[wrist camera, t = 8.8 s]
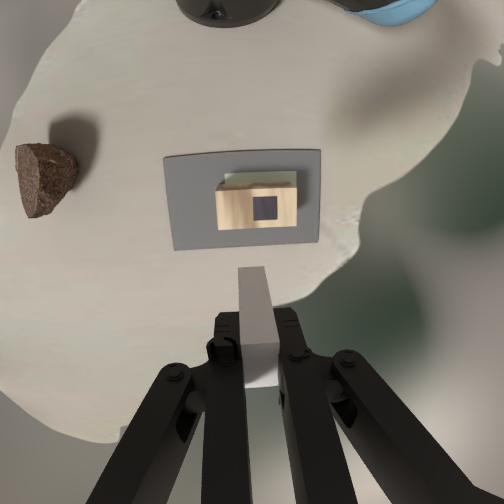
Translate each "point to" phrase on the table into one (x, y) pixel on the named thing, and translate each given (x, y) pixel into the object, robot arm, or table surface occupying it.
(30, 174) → the rock
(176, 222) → the rubber mat
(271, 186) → the beech block
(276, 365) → the robot arm
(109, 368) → the table surface
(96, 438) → the table surface
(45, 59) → the table surface
